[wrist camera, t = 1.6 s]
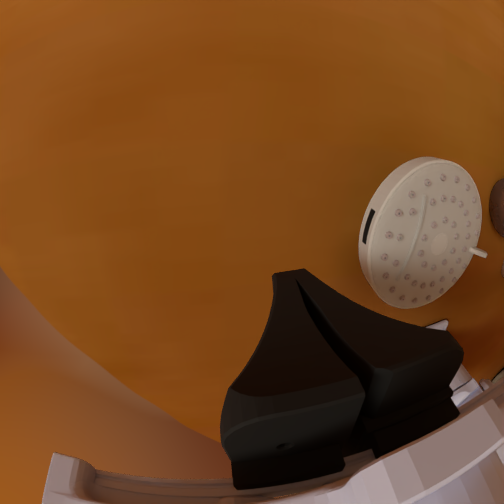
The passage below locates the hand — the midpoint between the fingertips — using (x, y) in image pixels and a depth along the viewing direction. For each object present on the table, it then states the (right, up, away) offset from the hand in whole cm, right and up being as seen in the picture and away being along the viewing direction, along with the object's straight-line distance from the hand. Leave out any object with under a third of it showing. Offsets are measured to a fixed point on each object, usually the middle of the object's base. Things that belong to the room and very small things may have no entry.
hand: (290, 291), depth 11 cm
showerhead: (+9, +5, +8) cm, 13 cm away
